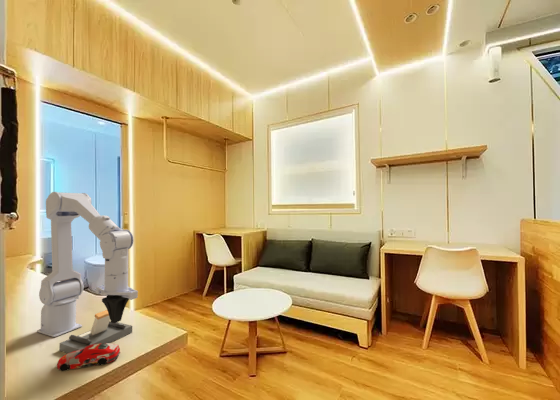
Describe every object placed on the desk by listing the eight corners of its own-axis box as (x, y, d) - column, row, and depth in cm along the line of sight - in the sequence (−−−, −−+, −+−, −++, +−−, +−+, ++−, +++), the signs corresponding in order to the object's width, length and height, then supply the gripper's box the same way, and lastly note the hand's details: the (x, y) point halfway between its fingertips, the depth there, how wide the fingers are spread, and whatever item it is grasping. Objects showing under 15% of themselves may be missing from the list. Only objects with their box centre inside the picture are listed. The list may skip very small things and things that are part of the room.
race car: (51, 374, 62) (52, 357, 62) (63, 361, 67) (63, 345, 67) (115, 364, 65) (115, 348, 65) (121, 353, 71) (121, 338, 71)
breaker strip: (59, 350, 71) (59, 338, 71) (112, 327, 85) (113, 317, 85) (80, 357, 68) (80, 345, 68) (132, 332, 82) (132, 321, 82)
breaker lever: (87, 335, 75) (94, 314, 74) (104, 328, 79) (111, 308, 78) (90, 338, 74) (97, 317, 73) (107, 331, 79) (114, 311, 78)
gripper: (85, 274, 73) (84, 323, 73) (120, 279, 68) (120, 332, 67) (110, 268, 80) (109, 313, 79) (144, 272, 74) (144, 321, 74)
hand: (116, 321), depth 74 cm, fingers closed
